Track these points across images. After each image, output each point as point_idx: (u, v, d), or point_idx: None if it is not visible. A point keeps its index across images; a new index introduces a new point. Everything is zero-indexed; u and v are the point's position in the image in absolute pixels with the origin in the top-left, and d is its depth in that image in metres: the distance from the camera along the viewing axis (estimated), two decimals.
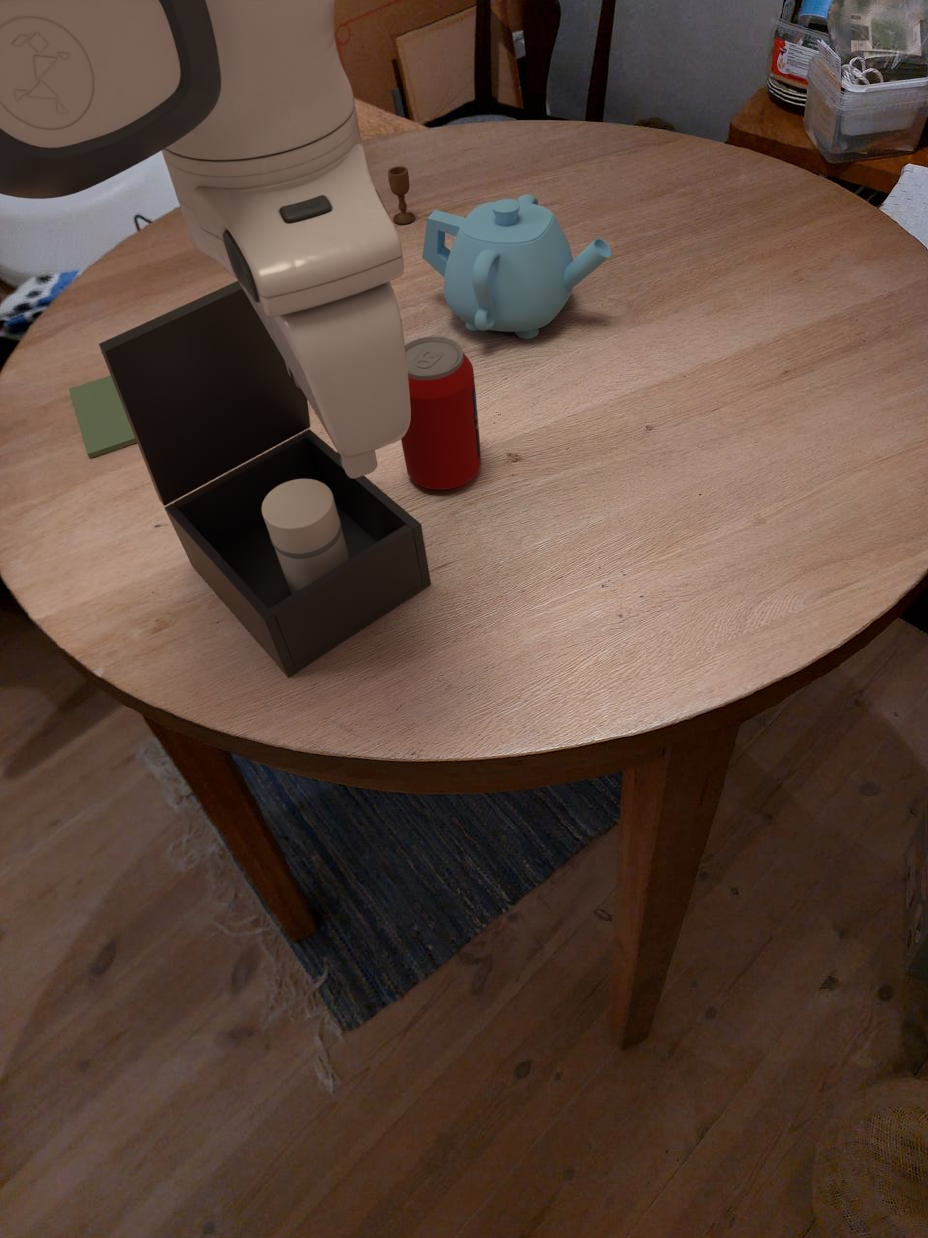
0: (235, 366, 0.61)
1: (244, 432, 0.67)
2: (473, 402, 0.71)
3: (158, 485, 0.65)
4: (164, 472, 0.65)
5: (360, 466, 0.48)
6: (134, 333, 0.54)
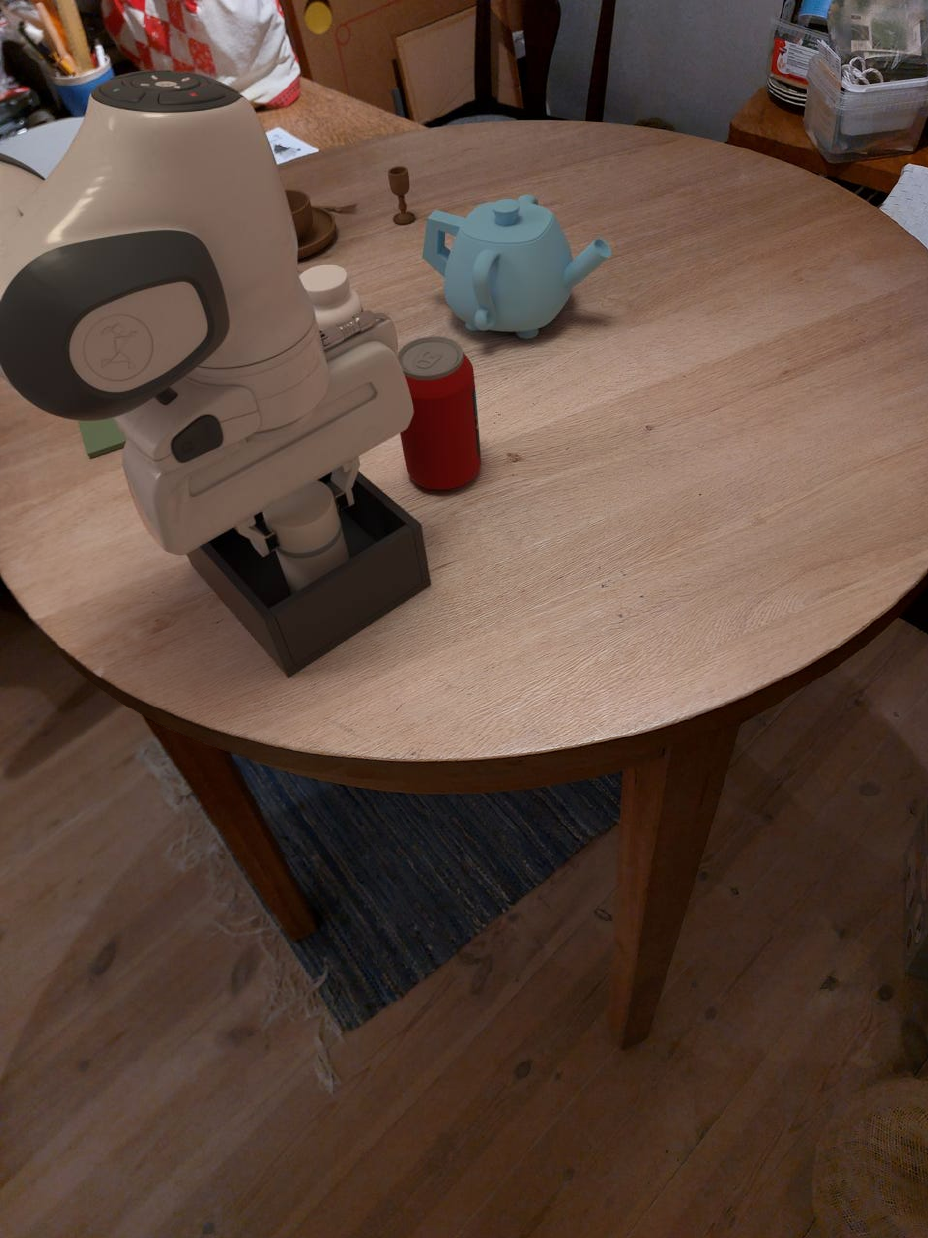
0: None
1: None
2: (473, 402, 0.71)
3: None
4: None
5: (255, 545, 0.63)
6: None
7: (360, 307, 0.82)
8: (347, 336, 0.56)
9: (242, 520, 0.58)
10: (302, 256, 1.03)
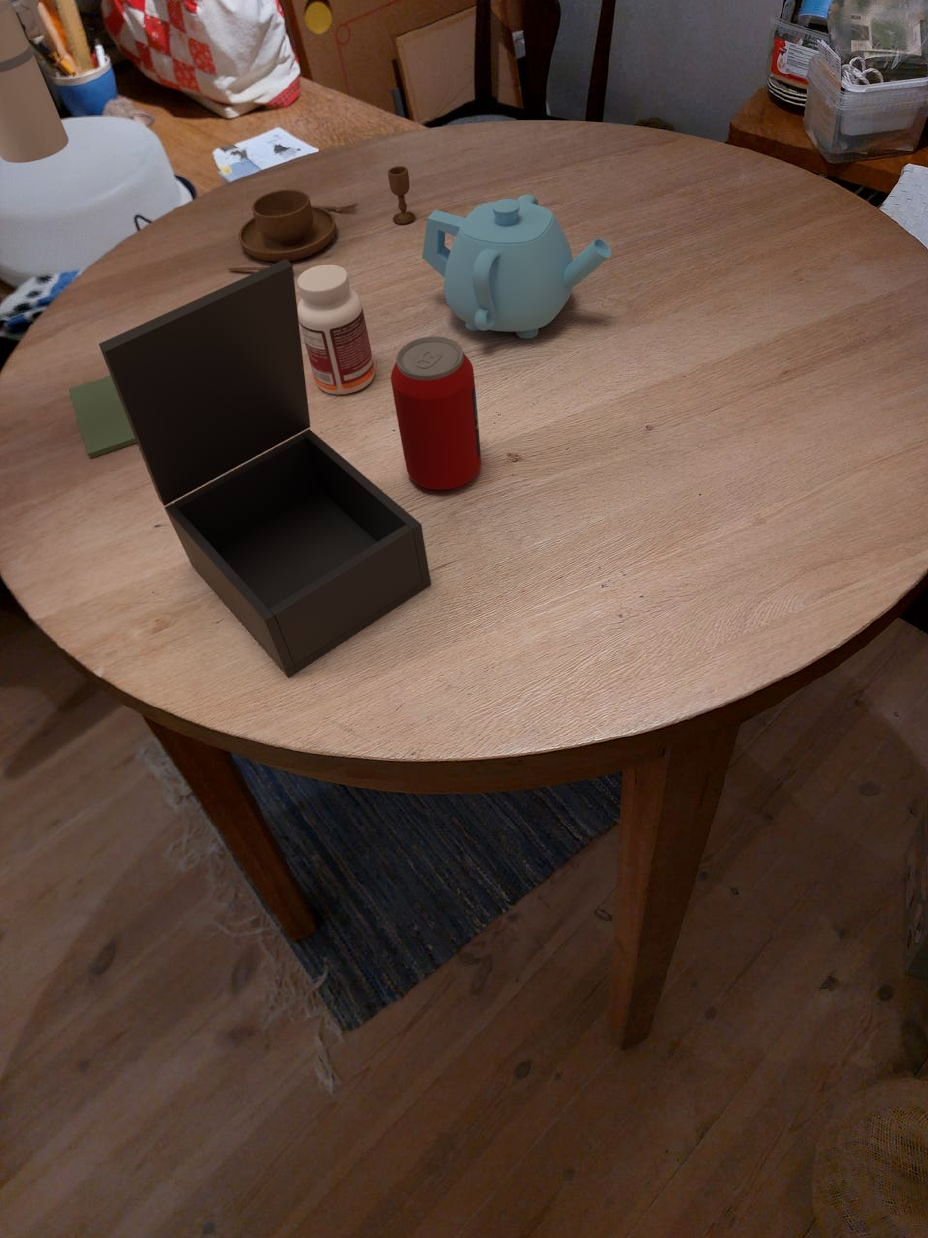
0: (235, 366, 0.61)
1: (244, 432, 0.67)
2: (473, 402, 0.71)
3: (158, 485, 0.65)
4: (164, 472, 0.65)
5: None
6: (134, 333, 0.54)
7: (360, 307, 0.82)
8: None
9: None
10: (302, 256, 1.03)
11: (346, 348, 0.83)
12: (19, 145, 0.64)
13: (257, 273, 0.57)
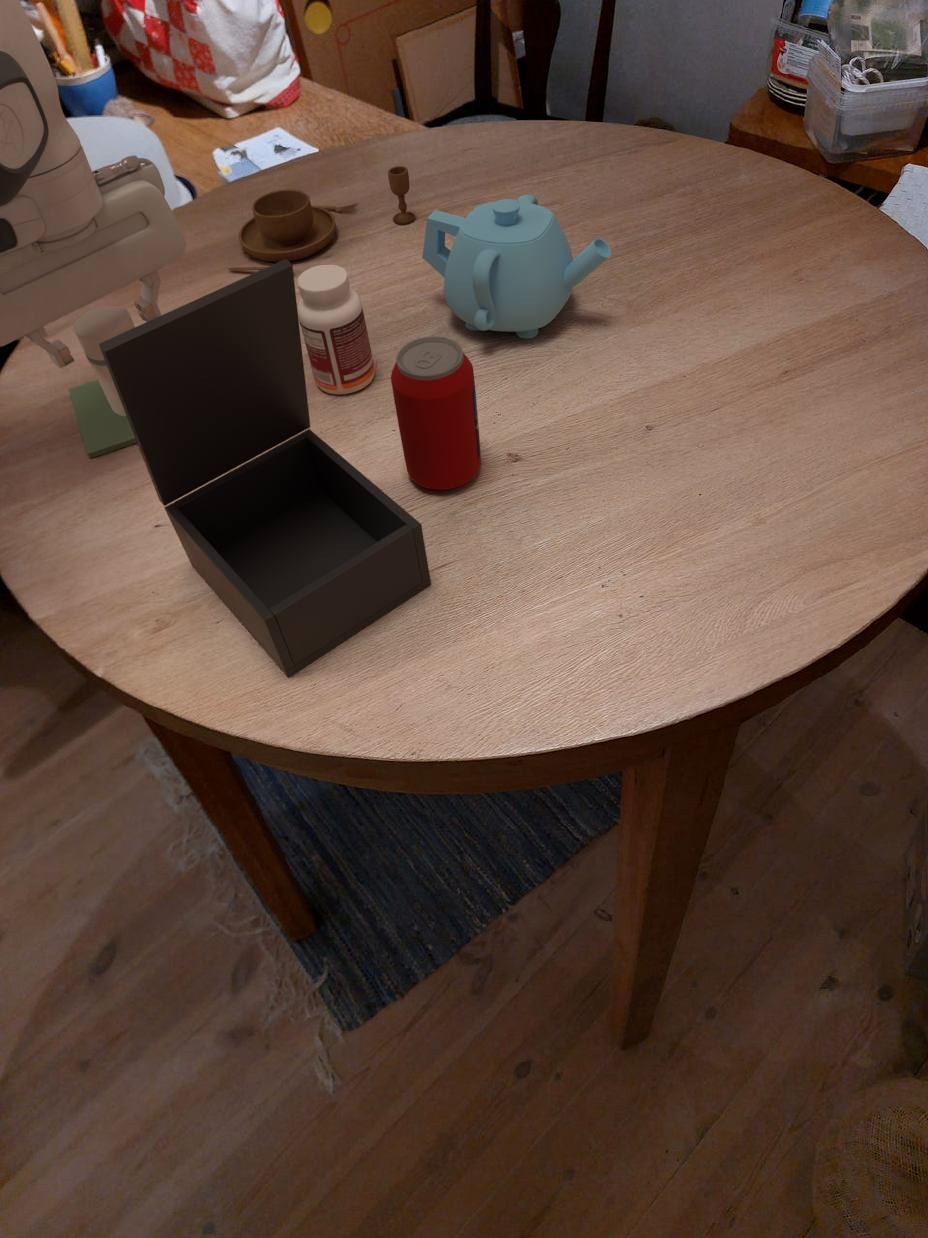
0: (235, 366, 0.61)
1: (244, 432, 0.67)
2: (473, 402, 0.71)
3: (158, 485, 0.65)
4: (164, 472, 0.65)
5: (53, 359, 0.80)
6: (134, 333, 0.54)
7: (360, 307, 0.82)
8: (117, 174, 0.75)
9: (48, 321, 0.76)
10: (302, 256, 1.03)
11: (346, 348, 0.83)
12: None
13: (257, 273, 0.57)
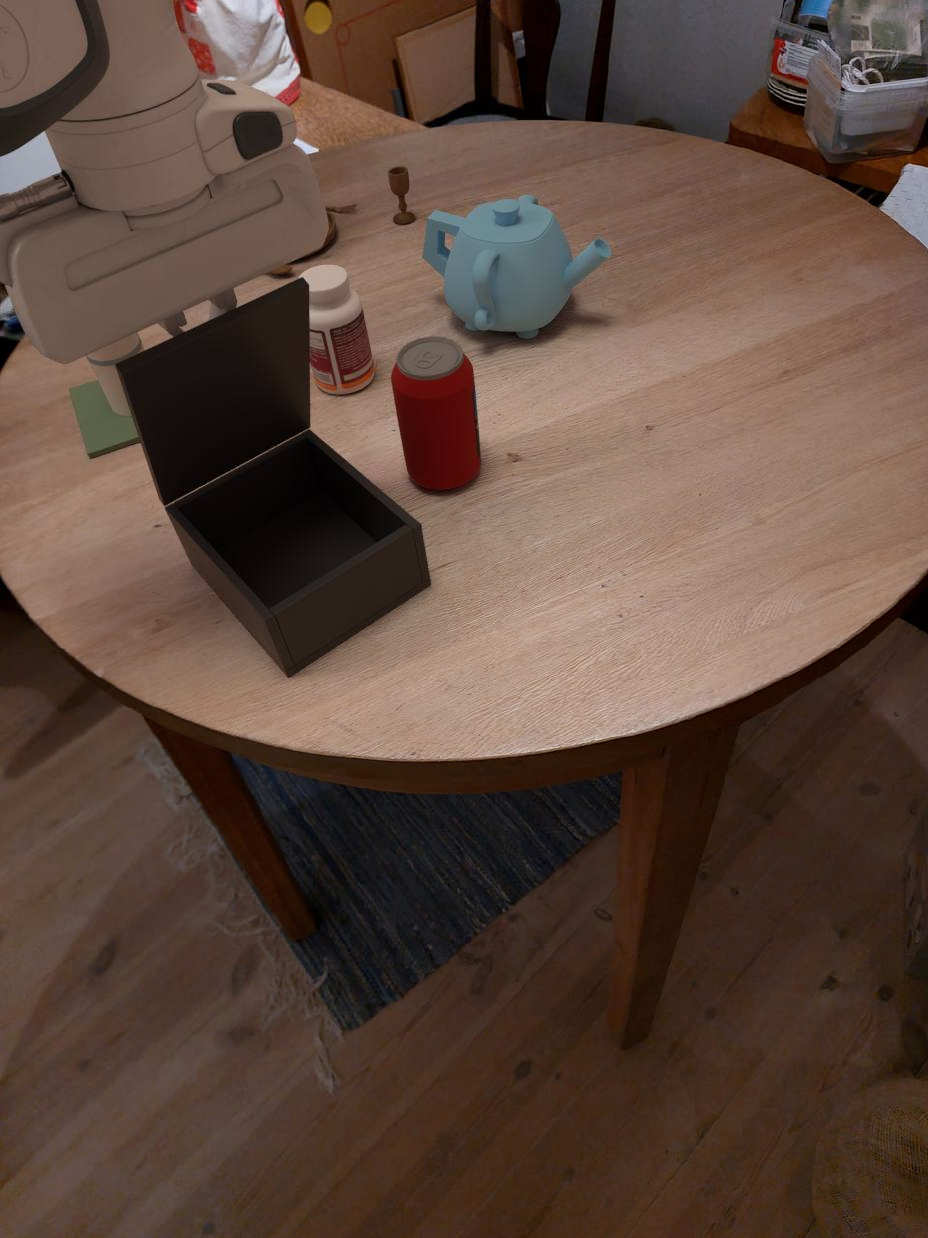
0: (245, 378, 0.61)
1: (247, 436, 0.67)
2: (473, 402, 0.71)
3: (160, 488, 0.65)
4: (167, 476, 0.65)
5: None
6: (151, 354, 0.53)
7: (360, 307, 0.82)
8: None
9: None
10: None
11: (346, 348, 0.83)
12: None
13: (274, 292, 0.57)
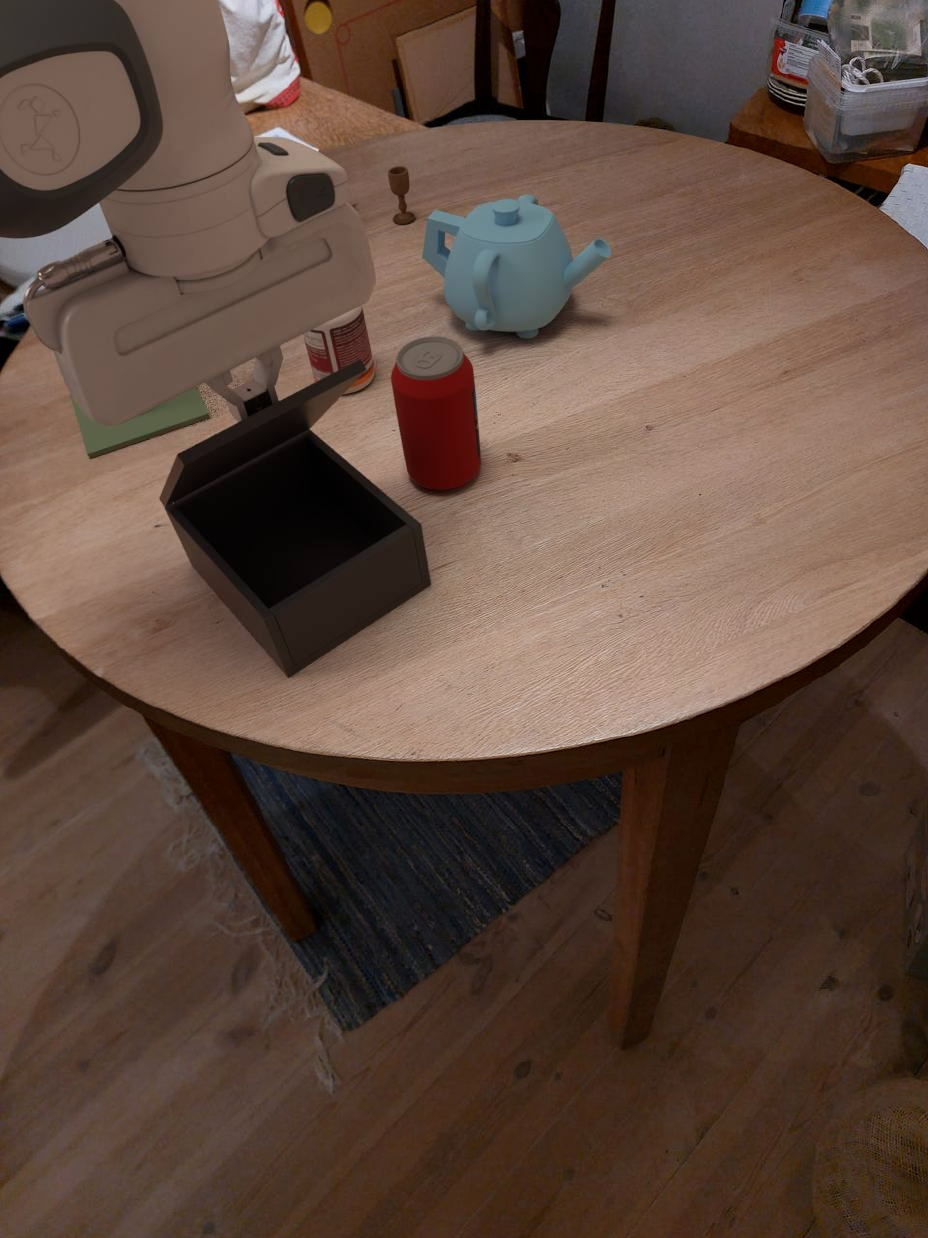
0: (279, 428, 0.61)
1: (257, 452, 0.67)
2: (473, 402, 0.71)
3: (168, 501, 0.65)
4: (179, 494, 0.65)
5: None
6: (212, 444, 0.53)
7: (360, 307, 0.82)
8: None
9: None
10: None
11: (346, 348, 0.83)
12: None
13: (332, 376, 0.56)
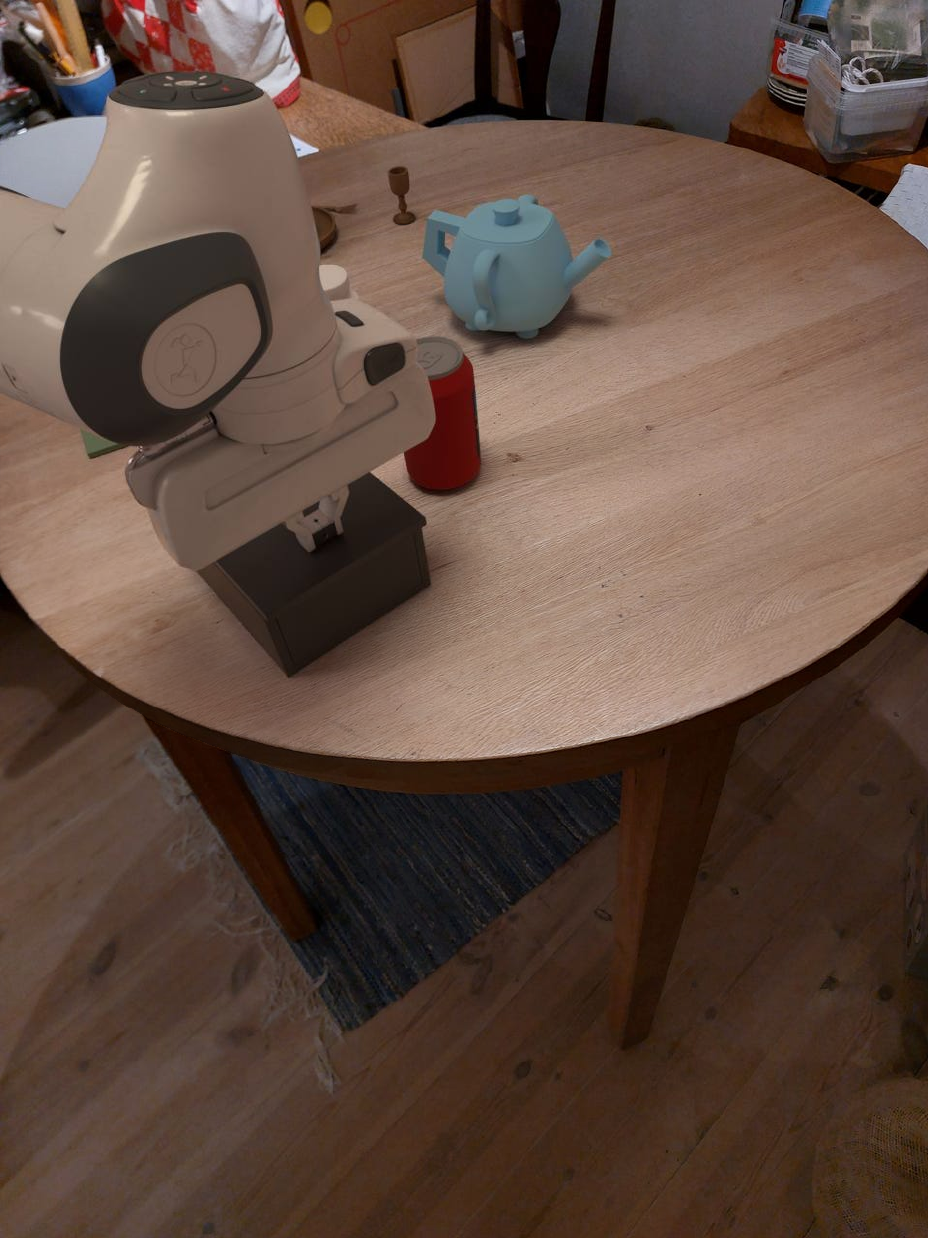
0: None
1: None
2: (473, 402, 0.71)
3: None
4: None
5: None
6: (294, 603, 0.59)
7: None
8: None
9: None
10: None
11: None
12: None
13: (400, 534, 0.62)
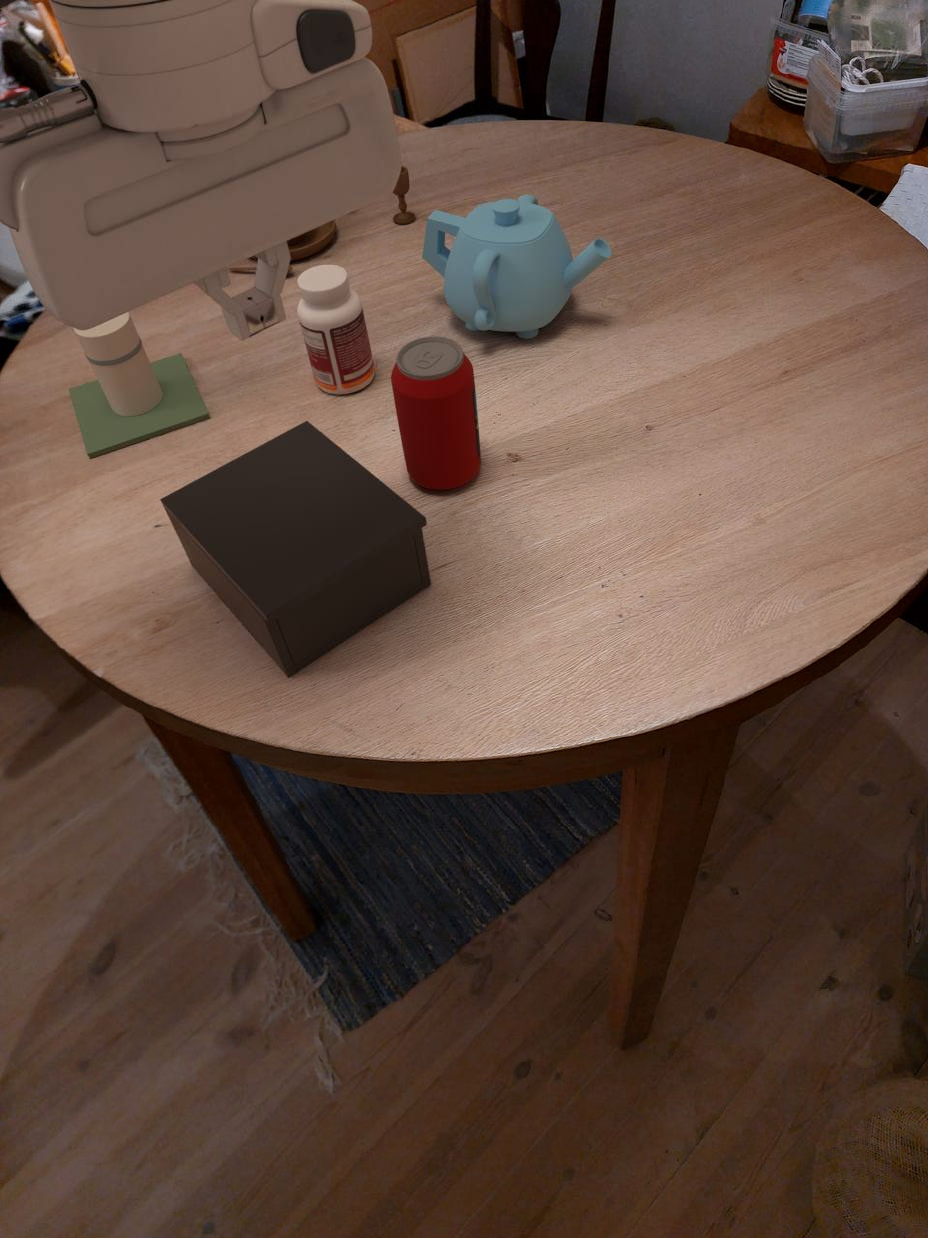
0: None
1: None
2: (473, 402, 0.71)
3: (180, 522, 0.67)
4: None
5: None
6: (294, 603, 0.59)
7: (360, 307, 0.82)
8: None
9: None
10: (302, 256, 1.03)
11: (346, 348, 0.83)
12: (131, 405, 0.85)
13: (400, 534, 0.62)
